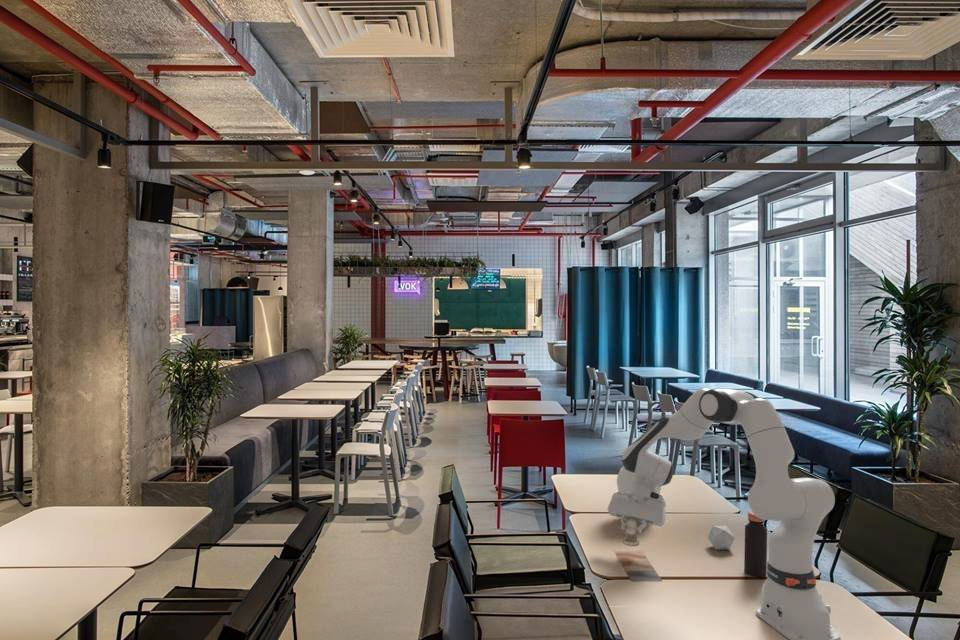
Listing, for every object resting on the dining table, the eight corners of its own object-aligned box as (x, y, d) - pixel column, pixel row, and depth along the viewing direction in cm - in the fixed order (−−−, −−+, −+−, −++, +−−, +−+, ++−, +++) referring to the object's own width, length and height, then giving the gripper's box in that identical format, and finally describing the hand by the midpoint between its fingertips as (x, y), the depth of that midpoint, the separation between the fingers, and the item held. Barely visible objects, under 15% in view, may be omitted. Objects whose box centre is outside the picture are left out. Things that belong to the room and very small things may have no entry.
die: (731, 556, 220) (741, 532, 223) (709, 543, 221) (720, 519, 224) (722, 555, 228) (732, 532, 230) (700, 542, 229) (711, 519, 232)
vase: (643, 509, 268) (644, 452, 268) (669, 523, 252) (670, 462, 251) (608, 514, 262) (608, 455, 261) (633, 528, 245) (633, 465, 245)
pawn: (641, 546, 215) (641, 521, 215) (625, 546, 215) (625, 521, 215) (636, 540, 221) (637, 515, 220) (621, 539, 220) (621, 515, 220)
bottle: (739, 570, 207) (740, 510, 206) (755, 567, 209) (756, 508, 209) (755, 578, 201) (756, 517, 200) (771, 575, 203) (772, 515, 203)
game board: (662, 582, 198) (662, 581, 198) (631, 582, 198) (631, 581, 198) (642, 552, 222) (642, 551, 222) (614, 552, 222) (614, 551, 222)
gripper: (611, 486, 229) (600, 520, 221) (666, 496, 217) (656, 532, 209) (616, 495, 233) (605, 528, 225) (670, 505, 221) (660, 541, 213)
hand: (630, 530), depth 217 cm, fingers closed on pawn, 4 cm apart
